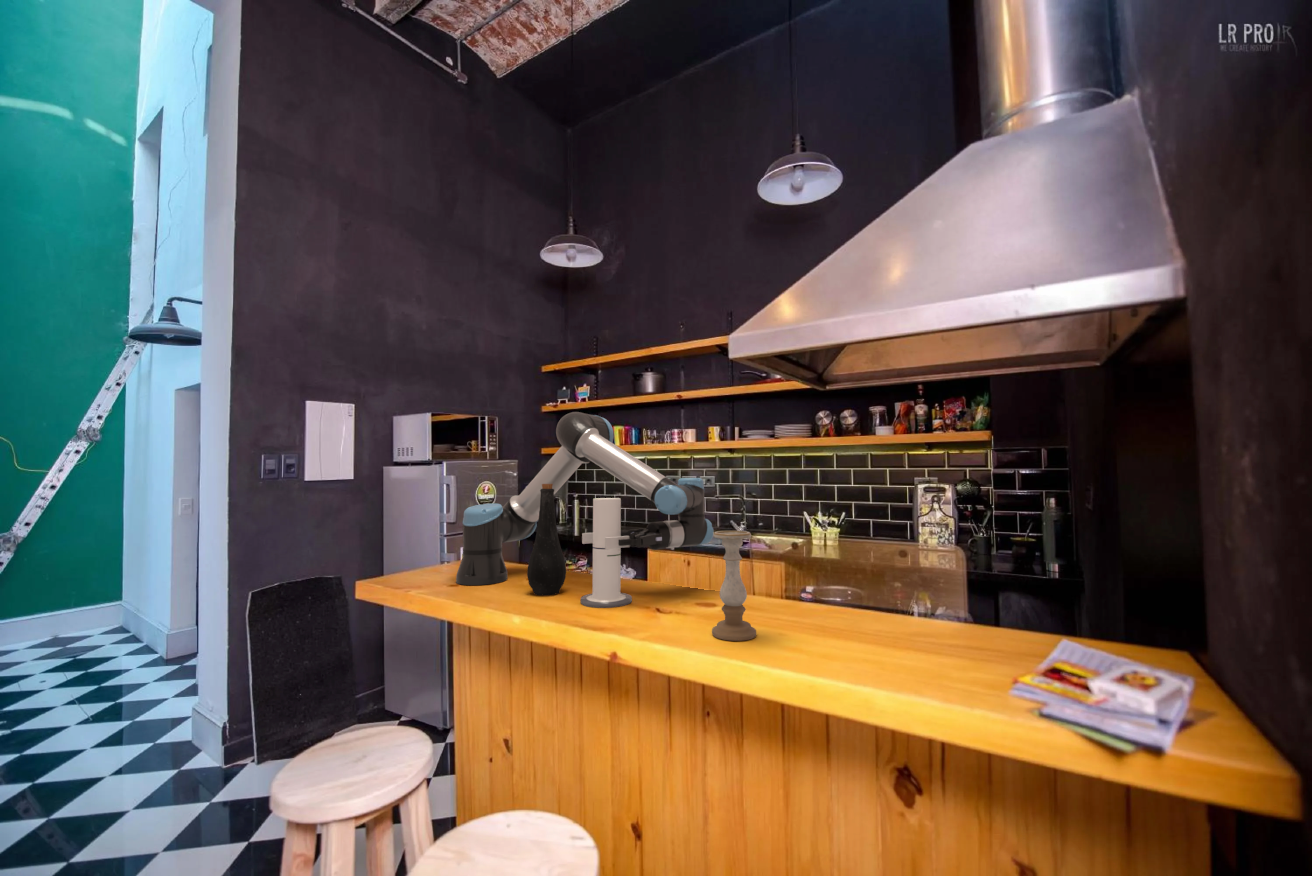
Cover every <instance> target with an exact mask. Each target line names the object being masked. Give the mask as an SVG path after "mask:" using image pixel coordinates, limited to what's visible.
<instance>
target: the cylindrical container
mask: <svg viewBox="0 0 1312 876" xmlns="http://www.w3.org/2000/svg"><path fill="white" fill-rule="evenodd" d="M621 508H622V500H621V498H619V497H615V498H614V497H612V498H611V497H606V498H605V497H600V498H599V497H598V498H596V497H595V498H593V499H592V532H593V543H592V591H591V594H592V598H594V599H597V600H614V599H618V598H620V593H621V571H622V570H621V564H622V562H621V561H622V560H621V559H622V558H621V557H622V556H621V552H622V551H621V550H622V549H621V548H614V549H605V538H607V537H619V536H621V530H622V529H621V527H622V524H621V521H622V519H621V518H622V516H621V514H622V511H621V510H622V509H621Z"/></svg>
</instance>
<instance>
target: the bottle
mask: <svg viewBox="0 0 1312 876" xmlns="http://www.w3.org/2000/svg"><path fill="white" fill-rule="evenodd" d="M552 486H553V484H542V489H541V490H540V492H541V497H540V511H539V519H538V520H537V527H536V535H535V540H534V543H533V548H532V551H531V553H530V556H529V560H528V564H527V571H526V577H527V581H528V585H529V587H530V588H531V590H532V591H533V595H535V596H542V597H543V596H553V595H558V594H560V592H561V589H562V588H563V585H564V584H565V581H566V577H567V566H566V565H567V564H566V560H565V559H566V558H565V556H564V553H563V550H562V548H561V542H560V539H559V534H558V533H559V532H558V529H557V528H558V526H557V518H556V510H555V507H556V506H555V494H554V489H552Z"/></svg>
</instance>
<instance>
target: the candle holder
mask: <svg viewBox="0 0 1312 876" xmlns="http://www.w3.org/2000/svg"><path fill="white" fill-rule="evenodd" d="M751 537H752V534H751V532H750V531H746V530H717V531H714V533H713V538H714V539H720V540H721V546H723V547H724V549H725V553H724V555H723V558H722V560H724V561H725V575H724V579H723V582H722V584H721V586H720V589H719V597H720V599H721V602H722V604H723V605H722V606H721V611H722V612H723V615H724V619H723V620H720V621H718V622H717V623H716V625H715V626H713V627H712V629H711V634H712V636H713V637H714V638H716V639H719V640H724V641H731V642H734V641H735V642H742V641H743V642H744V641H749V640H752V639H753V640H754V638H756V636H757V629H756V628H755V627H753V626H752V625H751V623H749V622H748V621H746V620H743V615H744V613H745V612H746V610H747V608H746V607H745V606H744V605H743V604H744V603H745V602H746V600H747V597H748V596H747V595H748V594H747V593H748V592H747V590H746V586H745V584H744V583H743V579H742V576H741V571H740V568H741V567H740V562H741V560H743V557H742V556H741V554H740V548H741V547H742V546H743V544H744V543H743V540H747V539H750V538H751Z"/></svg>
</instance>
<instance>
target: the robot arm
mask: <svg viewBox="0 0 1312 876" xmlns="http://www.w3.org/2000/svg"><path fill="white" fill-rule="evenodd" d="M555 434H556V438H557V441H558V443H559V444H560V445H561V446H560V447H559V449H558V450H557V451H556V452H555V453H554V455H552V457H551V458H550V459H549V460H548V461H547V462H546V464H544V466H543V467H542V468H541V470H540V471H539V472H538V473H537V474H536V475H535V476H534V478H533V479H531V481H530V482H529V483H528V484H527V486H525V488H524V489H523V490H522V491H521V492H520V494H519V495H513V496H511V497H510V498H509V500H507V502H506V503H505V504H504V505H503V506H502V504H500V503H484V504H476V505H472V506H469V507H467V508H465V509H464V511H463V518H462V557H461V561H460V564H459V566H458V570H457V571H456V572H457V573H456V576H455V582H456V584H458V585H462V586H463V585H464V586H483V585H492V584H499V583H502V582H505V581H507V580H508V569H507V566H506V563H505V560H504V557H503V550H502V549H503V543H511V542H519V541H522V540H525V539H527V538H529V537H531V535H533V534H534V532H535V531H536V530H537V527H538V520H539V511H540V497H541V492H540V490H541V489H542V484H553V486H552V489H554V495H556V493H557V492H558V491H559V490H560V489H561V488H562V486H564V484H566V482H567V481H568V480H569V479H570V478H571V477H572V475H573V474H574V473H575V472H576V471H577V470H578V468H579V467H580V466H582V464H589V463H590V462H592V463H594V464H595V465H596V466H599V467H600V468H601V469H603V470H604V471H605V472H607V473H609V474H610V475H611V476H612V477H613V476H614V477H615V478H616V479H618V480H619V481H621V482H622V483H624V484H625V485H627V486H628V487H630V488H631V489H633V490H634V491H636V492H637V493H638V494H640V495H642V496H644V497H645V498H647V499H648V500H649V501H651V502H653V503H654V505H655V507H656V508H657V510H658V511H659V512H660V513H662V514H664V515H671V516H673V515H678V516H677V517H678V520H677V519H676V520H675V519H674V520H664V521H663V520H661V521H651V522H650V523H648V524H647V525H646V529H644V528H638V529H626V530H625V529H623V530H622V529H621V536H619V537H607V538H605V549H614V548H630V547H631V548H635V547H636V548H638V549H640V548H642V547H648V548H649V549H651V550H654V551H655V550H665V549H670V550H671V551H675V548H684V547H685V548H687V547H697V546H698V547H699V546H702V545H707V544H709V543H710V542H712V540H713V538H714V537H713V534H714V532H715V531H714V527H713V524H712V522H711V521H710V520H709V519H708V518H706V517H705V483H704V479H702V478H701V477H681V478H679V479H678V480H677V483H676V482H674V481H672V480H671V479H669V478H668V477H666V476H665V475H663V474H662V473H660V472H659V471H657V470H655V468H653V467H651V466H649V465H647V464H646V463H644V462H643V461H641V460H640V459H638V458H637V457H635V456H633V454H632V455H631V454H630V453H628V452H627V451H625V449H622V448H621V447H619V446H618V445H616V444H614V438H615V437H614V427H612V424H611V423H610V422H609V420H607V419H606V418H604V417H603V416H602V417H601V416H599V415H596V414H594V415H593V414H588V413H586V412H585V413H584V412H581V411H580V412H579V411H572V412H569V413H567V414H565V415H563V416H562V417H561V418H560V420H559V421H558V422H557V425H556V429H555ZM581 535H582V536H581V543H582V544H583V545H585V544H593V531H592V532H582V533H581Z"/></svg>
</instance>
